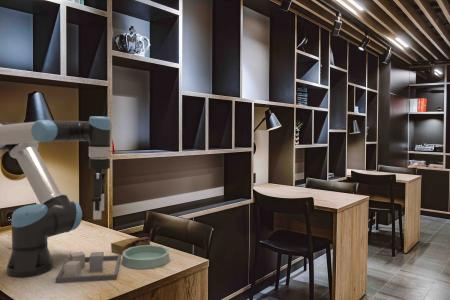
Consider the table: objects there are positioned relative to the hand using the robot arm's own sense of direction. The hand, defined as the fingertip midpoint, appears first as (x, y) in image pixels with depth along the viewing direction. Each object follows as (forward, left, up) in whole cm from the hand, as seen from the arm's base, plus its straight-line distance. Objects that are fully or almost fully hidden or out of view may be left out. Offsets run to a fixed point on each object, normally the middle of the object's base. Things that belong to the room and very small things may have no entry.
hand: (98, 214), depth 141 cm
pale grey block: (-8, +3, -21) cm, 22 cm away
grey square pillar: (-1, -1, -21) cm, 21 cm away
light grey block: (-8, -7, -21) cm, 23 cm away
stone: (+11, +20, -21) cm, 31 cm away
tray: (-3, -1, -21) cm, 21 cm away
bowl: (+17, +6, -21) cm, 28 cm away
